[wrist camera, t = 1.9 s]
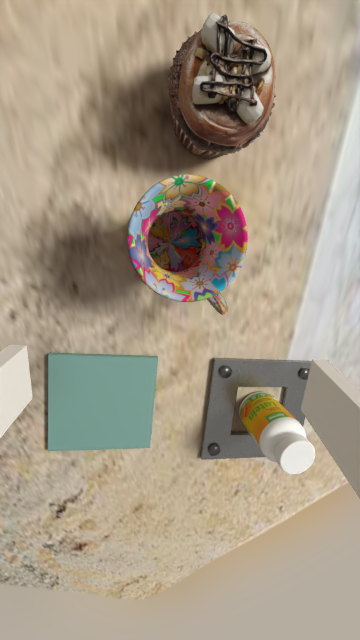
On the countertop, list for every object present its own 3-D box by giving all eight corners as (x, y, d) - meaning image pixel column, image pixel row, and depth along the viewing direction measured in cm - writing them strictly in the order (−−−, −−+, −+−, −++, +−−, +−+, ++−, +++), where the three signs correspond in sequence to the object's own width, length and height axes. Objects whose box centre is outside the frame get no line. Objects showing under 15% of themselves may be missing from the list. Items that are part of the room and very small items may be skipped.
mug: (108, 228, 31) (101, 218, 21) (182, 180, 31) (211, 148, 21) (168, 320, 34) (188, 351, 24) (235, 277, 35) (281, 289, 25)
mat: (149, 444, 38) (149, 447, 37) (49, 447, 35) (47, 451, 35) (157, 356, 35) (158, 357, 35) (49, 352, 33) (48, 354, 32)
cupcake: (247, 171, 32) (300, 139, 23) (159, 162, 30) (175, 122, 21) (257, 69, 30) (320, -15, 20) (162, 51, 28) (183, -49, 19)
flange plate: (294, 452, 42) (298, 457, 42) (200, 456, 40) (202, 461, 39) (313, 361, 39) (318, 363, 39) (213, 357, 37) (215, 360, 36)
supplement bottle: (263, 382, 39) (308, 424, 30) (282, 410, 40) (330, 459, 31) (230, 406, 39) (264, 456, 29) (250, 434, 40) (288, 489, 31)
